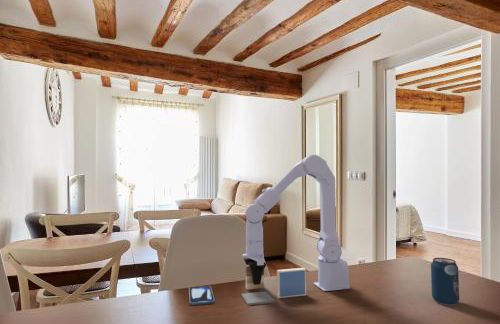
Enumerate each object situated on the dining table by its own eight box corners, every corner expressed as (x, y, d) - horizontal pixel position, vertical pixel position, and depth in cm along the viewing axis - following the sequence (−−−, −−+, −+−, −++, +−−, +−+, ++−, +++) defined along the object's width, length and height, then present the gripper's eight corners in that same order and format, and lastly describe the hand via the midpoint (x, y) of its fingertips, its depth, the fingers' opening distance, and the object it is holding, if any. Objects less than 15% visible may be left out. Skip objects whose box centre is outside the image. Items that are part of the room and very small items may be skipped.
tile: (304, 293, 105) (303, 267, 106) (306, 295, 104) (305, 269, 104) (277, 296, 103) (276, 270, 103) (278, 298, 101) (278, 271, 102)
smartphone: (210, 285, 112) (215, 301, 98) (210, 288, 112) (215, 304, 98) (188, 287, 111) (189, 303, 96) (188, 290, 111) (189, 306, 96)
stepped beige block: (262, 286, 112) (262, 263, 113) (264, 287, 111) (264, 264, 111) (245, 288, 111) (245, 265, 111) (246, 289, 109) (246, 266, 110)
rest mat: (266, 293, 106) (266, 291, 106) (274, 302, 98) (274, 300, 98) (241, 295, 104) (241, 293, 104) (247, 305, 96) (247, 303, 96)
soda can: (462, 307, 93) (461, 263, 93) (434, 304, 95) (433, 262, 96) (455, 298, 99) (454, 258, 100) (429, 296, 102) (428, 256, 102)
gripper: (238, 237, 117) (238, 276, 117) (248, 245, 103) (248, 290, 103) (257, 236, 119) (257, 274, 119) (269, 244, 105) (270, 288, 105)
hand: (254, 281), depth 111 cm, fingers open, 4 cm apart
